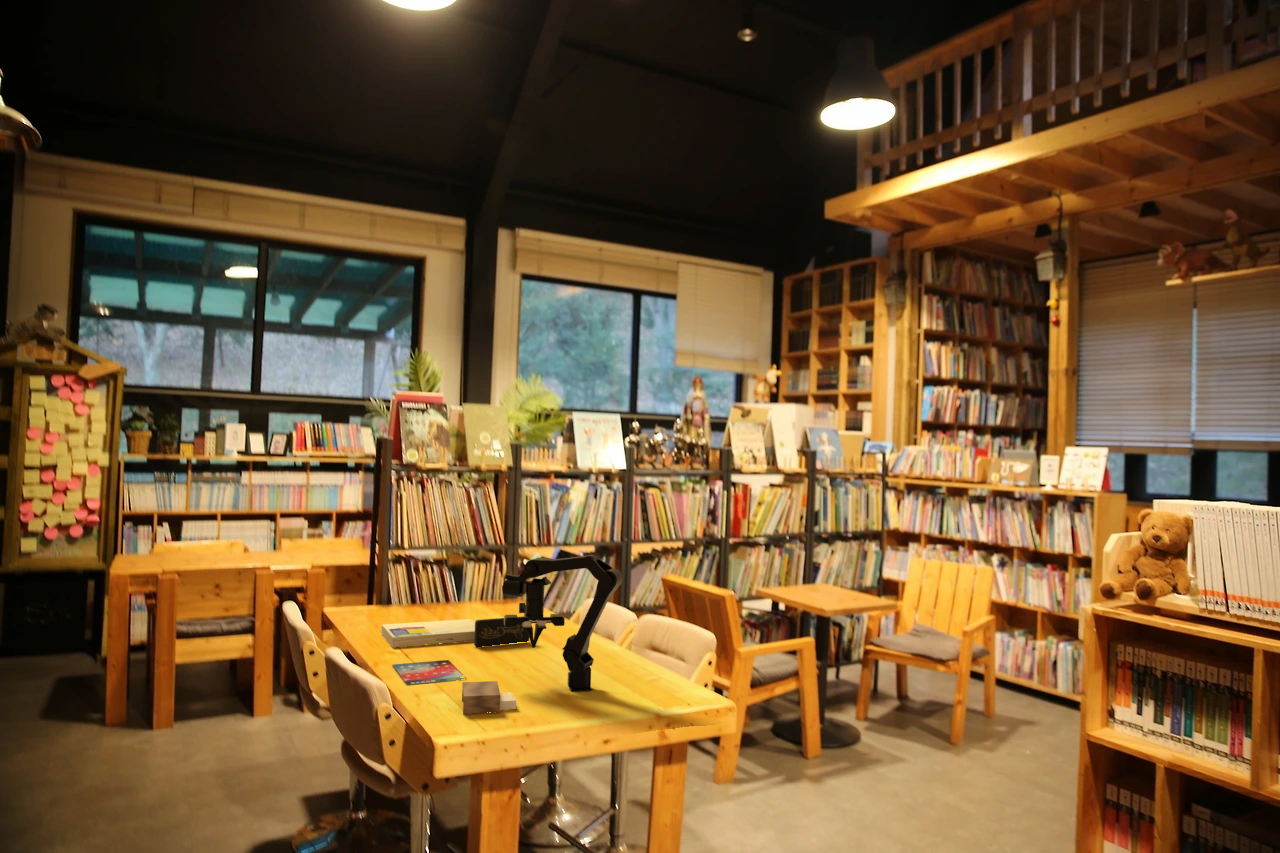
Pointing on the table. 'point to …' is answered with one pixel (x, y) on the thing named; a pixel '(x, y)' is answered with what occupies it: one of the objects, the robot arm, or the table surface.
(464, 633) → the puzzle box
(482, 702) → the wood grain block
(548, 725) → the table surface
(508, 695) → the beige block
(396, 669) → the tablet
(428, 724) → the table surface
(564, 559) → the robot arm
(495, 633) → the nameplate
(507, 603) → the table surface
